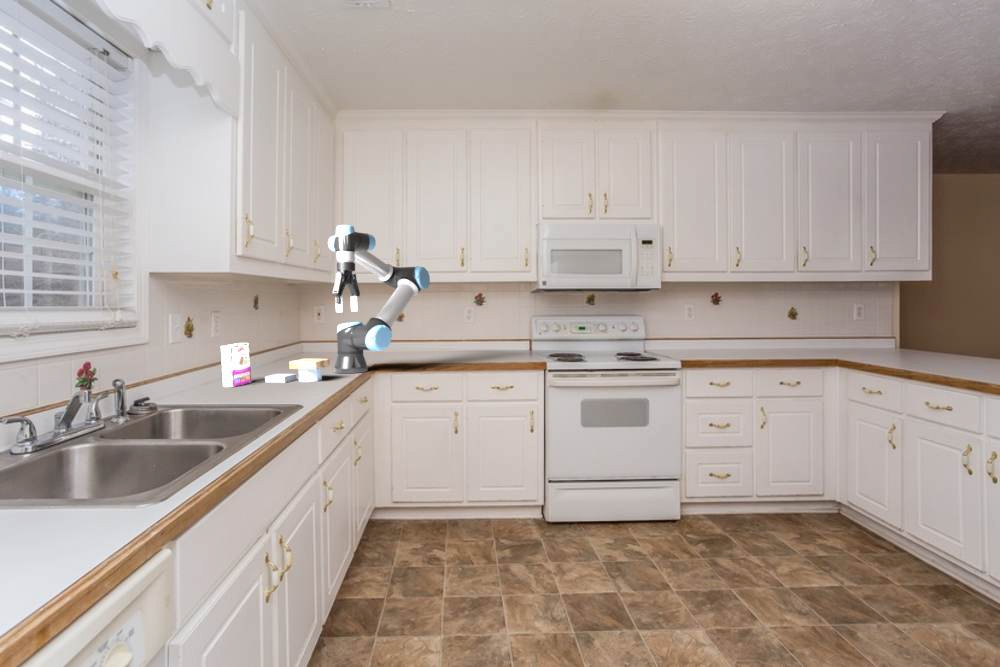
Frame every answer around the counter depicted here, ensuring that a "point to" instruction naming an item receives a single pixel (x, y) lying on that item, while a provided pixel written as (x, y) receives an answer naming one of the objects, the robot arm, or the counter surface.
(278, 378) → the block
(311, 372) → the bowl
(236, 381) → the candy bar box
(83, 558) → the counter surface
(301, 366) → the lid board
